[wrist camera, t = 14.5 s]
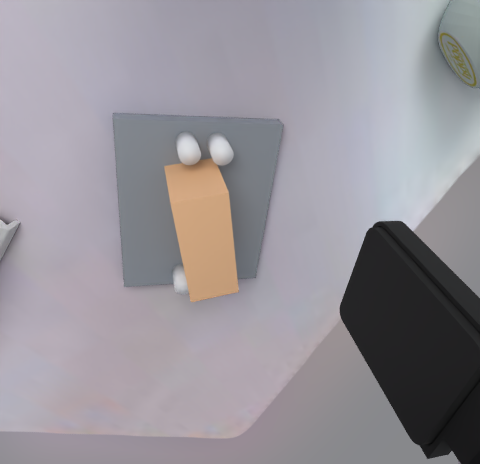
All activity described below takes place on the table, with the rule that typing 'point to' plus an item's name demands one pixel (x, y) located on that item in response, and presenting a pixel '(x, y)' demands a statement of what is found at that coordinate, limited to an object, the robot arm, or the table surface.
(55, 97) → the table surface
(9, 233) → the hinge
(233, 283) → the block
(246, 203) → the base plate
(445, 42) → the grey green vase
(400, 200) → the table surface
